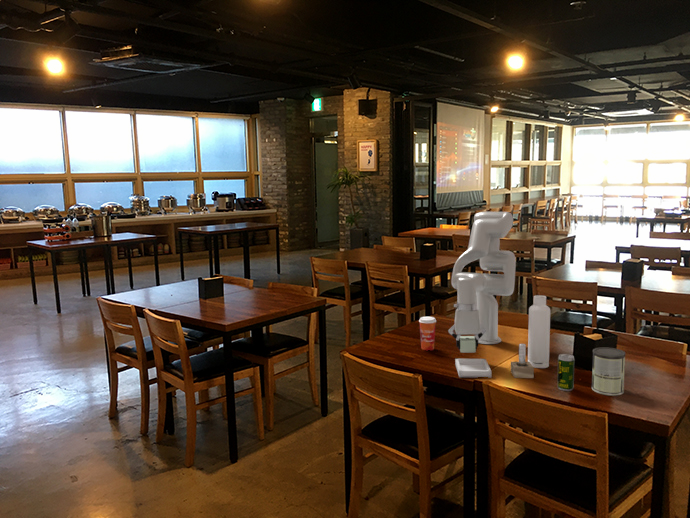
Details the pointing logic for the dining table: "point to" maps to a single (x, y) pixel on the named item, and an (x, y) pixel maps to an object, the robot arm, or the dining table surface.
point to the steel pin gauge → (522, 354)
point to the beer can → (565, 372)
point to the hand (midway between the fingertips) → (467, 348)
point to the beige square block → (522, 370)
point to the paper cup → (427, 332)
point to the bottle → (539, 333)
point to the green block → (467, 344)
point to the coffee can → (608, 371)
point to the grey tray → (473, 368)
